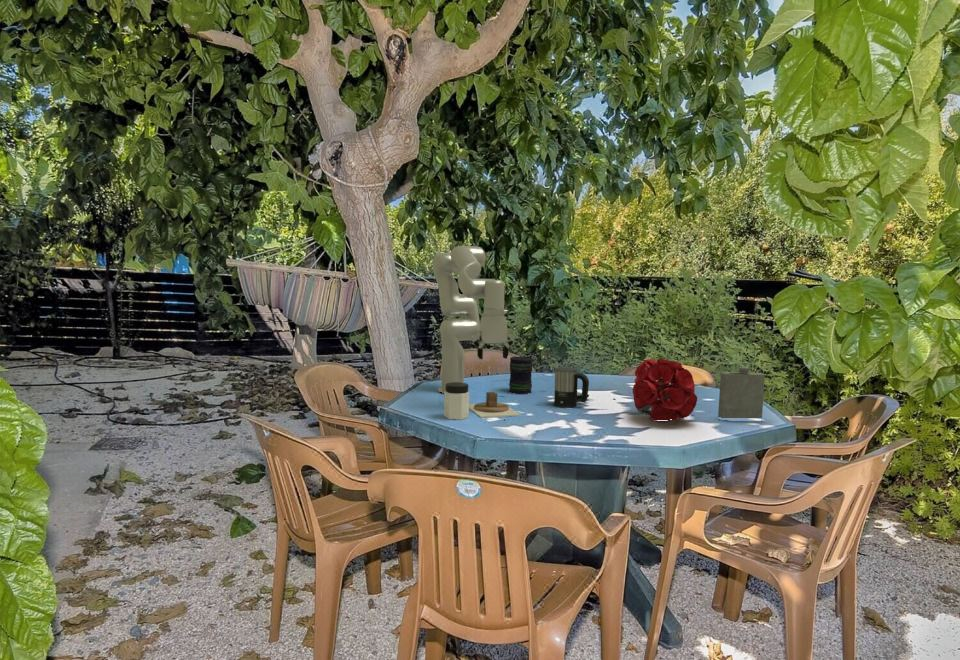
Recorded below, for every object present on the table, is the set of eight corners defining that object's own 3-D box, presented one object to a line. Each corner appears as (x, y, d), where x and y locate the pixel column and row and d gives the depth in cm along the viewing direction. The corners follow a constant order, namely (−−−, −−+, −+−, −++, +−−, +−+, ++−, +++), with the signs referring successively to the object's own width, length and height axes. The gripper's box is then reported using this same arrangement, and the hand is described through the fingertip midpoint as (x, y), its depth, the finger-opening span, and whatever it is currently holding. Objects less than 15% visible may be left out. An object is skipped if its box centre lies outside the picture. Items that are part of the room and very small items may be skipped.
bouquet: (618, 430, 233) (648, 407, 206) (614, 372, 243) (643, 343, 216) (672, 434, 236) (709, 412, 209) (667, 376, 246) (701, 348, 218)
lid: (470, 405, 237) (470, 390, 237) (502, 404, 241) (502, 389, 241) (480, 413, 225) (480, 397, 224) (513, 411, 229) (513, 396, 228)
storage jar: (509, 389, 274) (510, 356, 272) (531, 390, 273) (532, 357, 271) (508, 393, 264) (509, 359, 262) (531, 394, 263) (532, 360, 261)
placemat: (465, 405, 240) (465, 404, 239) (502, 404, 244) (502, 402, 244) (480, 418, 221) (480, 416, 220) (520, 416, 225) (520, 414, 225)
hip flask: (759, 419, 228) (763, 366, 226) (764, 422, 224) (768, 368, 222) (716, 418, 228) (719, 365, 225) (720, 421, 223) (724, 367, 221)
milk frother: (552, 407, 241) (553, 369, 239) (554, 399, 256) (555, 363, 255) (589, 409, 238) (590, 371, 237) (588, 400, 254) (590, 365, 252)
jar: (441, 415, 224) (441, 382, 222) (461, 413, 227) (462, 381, 226) (450, 421, 215) (451, 387, 214) (471, 419, 219) (472, 385, 218)
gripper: (512, 312, 235) (511, 356, 237) (468, 312, 230) (467, 357, 232) (519, 313, 228) (517, 359, 230) (474, 313, 223) (473, 360, 225)
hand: (492, 358), depth 231 cm, fingers open, 9 cm apart
